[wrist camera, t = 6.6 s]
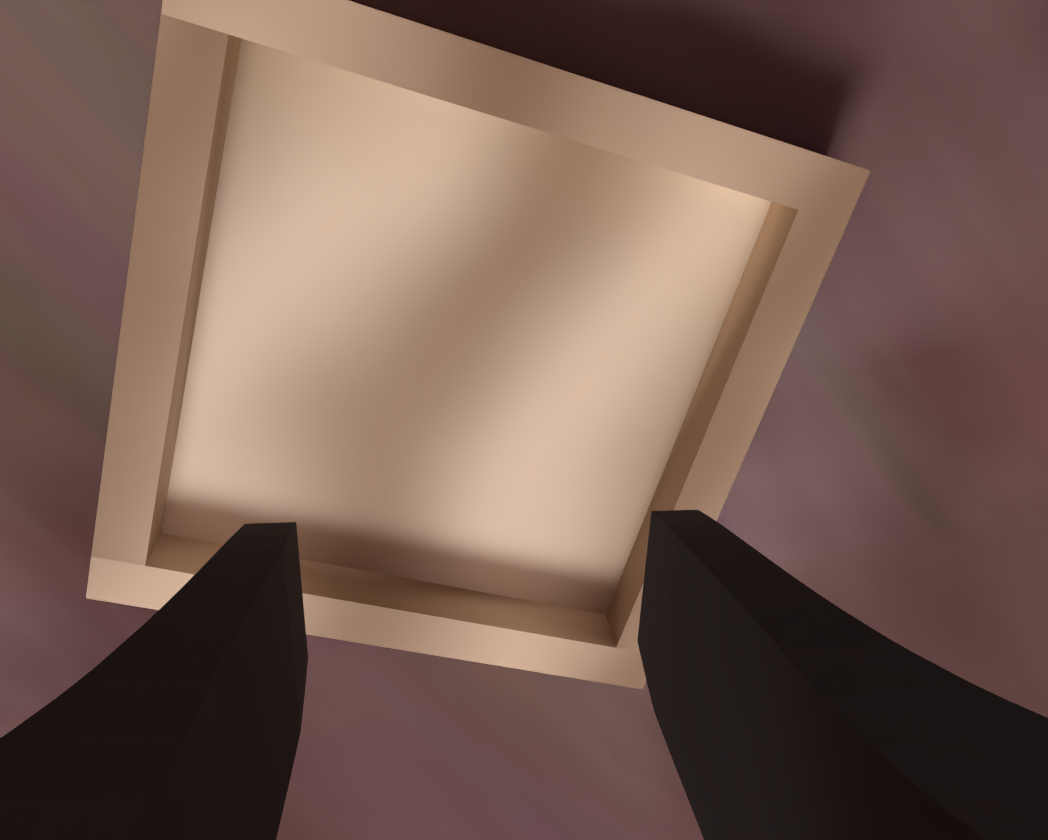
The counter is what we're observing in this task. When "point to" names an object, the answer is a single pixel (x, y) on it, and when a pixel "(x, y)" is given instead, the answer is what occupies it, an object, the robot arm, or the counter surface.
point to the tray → (441, 328)
